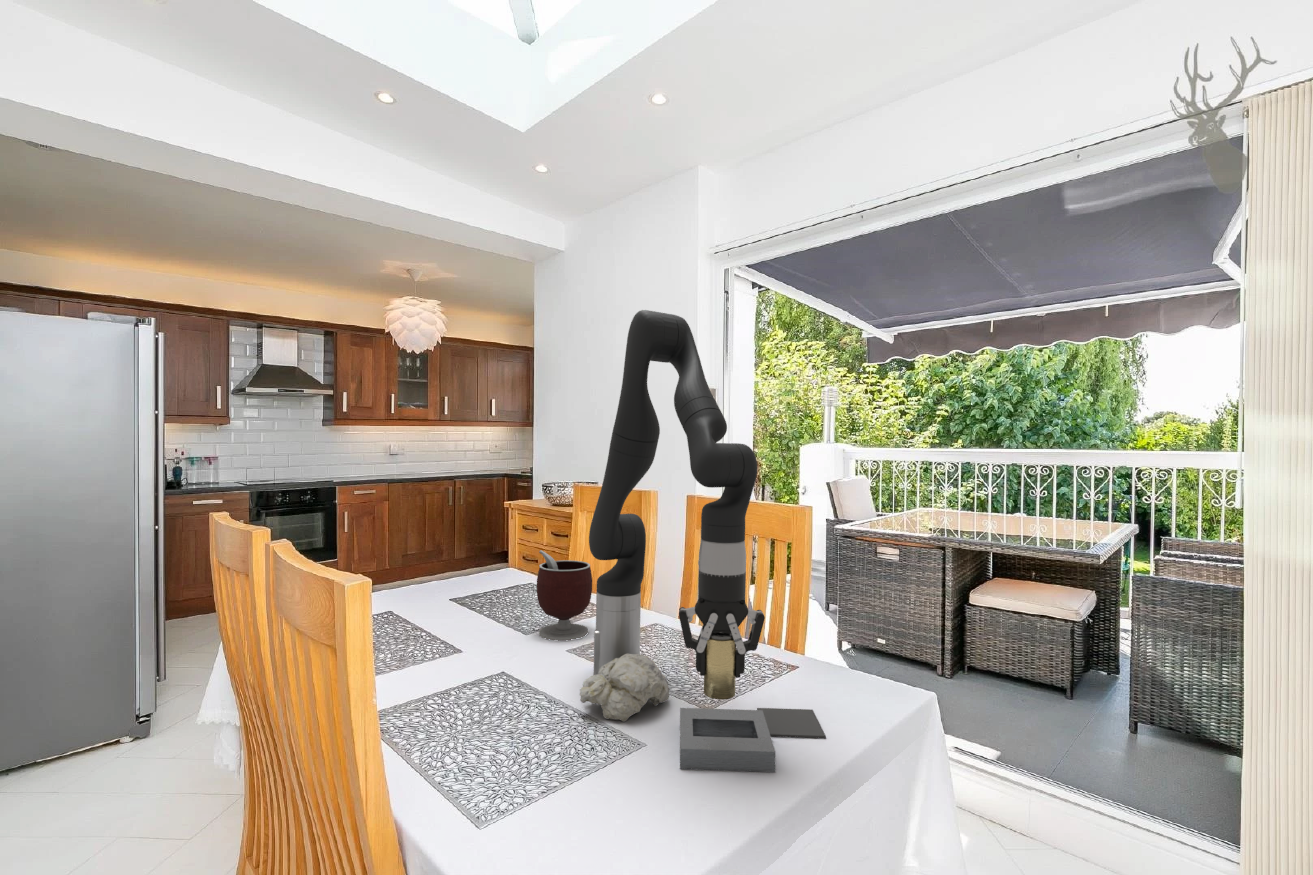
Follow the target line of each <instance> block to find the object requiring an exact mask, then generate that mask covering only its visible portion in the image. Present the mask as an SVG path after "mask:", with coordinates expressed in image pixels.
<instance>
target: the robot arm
mask: <svg viewBox="0 0 1313 875" xmlns="http://www.w3.org/2000/svg"><path fill="white" fill-rule="evenodd" d="M689 325H690V324H688V322H687V320H685V318H684V317H682V316H680V315H676V314H672V313H665V312H659V311H656V310H655V311H654V310H647V309H641V310H639V311H637V312H636V313H635V315H633V317H632V319H631V322H630V325H629V329H628V333H627V338H626V347H625V356H624V357H625V358H624V364H623V372H622V373H623V375H622V382H621V389H620V393H619V394H620V395H619V400H618V405H617V409H616V415H615V420H614V424H613V428H612V433H611V438H610V443H609V447H608V448H609V450H608V455H607V462H606V466H605V471H604V475H603V476H604V477H603V481H602V486H601V487H600V488H601V489H600V493H599V495H598V500H597V502H596V505H595V509H594V512H593V514H592V520H591V523H590V527H589V533H588V534H589V535H588V545H589V551H590V554H591V555H592V556H593V557H594V559H596V560H599V561H613V560H614V561H615V560H616V563H614V566H612V568H610V569H609V570H608V571H606V572H604V573H603V574H601V575H599V576H598V578H597V579H596V588H595V589H596V596H595V600H596V602H595V603H596V604H595V607H596V608H595V629H594V632H593V633H594V634H593V635H594V636H593V675H597V674H598V672H599V669H600V668H601V667H602V666H603V665H605V664H607V663H609V662H611V661H612V660H614V659H615V658H620V657H621V656H623V655H625V654H627V653H628V654H638V655H641V604H642V603H641V602H642V601H641V600H642V599H641V598H642V597H641V596H642V593H641V592H642V588H641V587H642V582H643V580H644V577H645V576H644V574H645V559H646V558H645V557H646V546H647V540H646V539H647V536H646V528H645V523H644V521H643V519H642V517H640V516H639V515H637V514H635V513H621V512H622V509H623V508H624V507H623V506H624V504H625V501H626V500H627V498H628V497H629V495H630V494H631V492H632V491H633V490H634V489H635V487H636V486H637V485H638V484H639V483H640V481H641V480H642V479H643V478H644V476H645V475H646V474H647V473H648V471H649V470H650V469H651V467H652V465H653V463H654V460H655V457H656V452H657V449H658V442H659V439H660V434H661V430H660V429H661V428H660V421H659V419H658V416H657V413H656V410H655V407H654V405H653V402H652V400H651V397H650V394H649V393H650V392H649V388H648V376H649V375H648V374H649V368H650V363H651V362H658V363H669V364H671V365H672V366H673V368H674V369H675V370H676V372H677V374H678V381H677V384H676V387H675V390H674V397H673V406H674V410H675V413H676V416H677V418H678V420H679V422H680V425H681V427H682V429H683V431H684V433H685V435H686V440H687V447H688V453H689V455H688V456H689V464H690V466H689V467H690V471H691V475H692V476H693V477H694V479H695V480H696V481H697V483H699V485H701V486H703V487H705V488H724V489H723V491H722V494H721V496H720V497H719V498H718V499H717V500H714V501H710V502H708V503H706V504H704V505H703V506H702V509H701V516H700V522H701V523H700V525H701V526H700V545H699V551H698V552H699V553H698V560H697V564H698V577H697V578H698V580H697V583H698V584H697V586H698V587H697V601H696V603H695V604H694V606H691V607H687V608H686V607H685V606H680V607H679V609H678V617H679V623H680V626H681V631H682V637H683V642H684V645H685V646H684V647H685V648H687V649H692V650H694V652H695V670H696V672H698V673H699V676H701V677H702V676H703V677H704V676H705V646H706V644H707V640H709V638H710V635H711V633H720V632H722V633H726V634H731V633H732V636H733V639H734V641H735V644H736V675H735V677H736V678H741V674H743V675H744V673H745V671H746V670H745V668H746V667H745V664H746V662H745V660H746V659H745V658H746V654H747V653H748V652H750V651H756V650H757V648H758V645H759V641H760V639H761V633H762V631H763V626H764V623H765V619H766V617H765V614H764V612H763V611H762V609H757V610H755V609H752V608H748V605H747V604H746V587H747V586H746V583H747V581H746V580H747V577H746V576H747V550H746V549H747V548H746V515H747V511H748V507H749V505H750V501H751V497H752V494H753V490H754V487H755V483H756V479H757V476H758V475H757V474H758V461H757V457H756V455H755V453H754V451H753V449H752V447H750V446H749V445H747V444H745V443H734V442H733V443H729V442H728V443H727V442H726V443H724V442H722V443H721V442H719V441H721V440H722V439H723V438H724V437H725V436H726V433H727V431H728V425H727V424H728V423H727V421H726V418H725V416H724V414H723V412H722V411H721V409H720V406H719V404H718V403H717V401H716V399H715V397H714V396H713V394H712V390H711V389H710V386H709V385H708V382H707V379H706V376H705V372H704V369H703V366H702V361H701V359H700V358H701V357H700V355H699V352H698V348H697V345H696V341H695V338H694V335H693V331H692V329H691V327H690V326H689ZM695 615H696V616H697V618H698V619H699V621H700V622H701V623H702V626H701V628H700V632H699V635H698V638H694V637H693V635H692V631H691V626H690V623H692V622H693V620H694V619H693V616H695ZM746 617H749V622H750V624H751V627H750V631H749V634H748V638H747V640H744V641H743V638H742V634H741V632H740V629H739V627H740V626H741V624H742V623H743V622H744V621H745V619H747V618H746Z"/></svg>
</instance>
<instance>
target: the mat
mask: <svg viewBox="0 0 1313 875" xmlns="http://www.w3.org/2000/svg"><path fill="white" fill-rule="evenodd" d="M756 710H763V713H764V717H765V720H766V723H767V726H768V730H769V733H770V736H771V738H795V739H797V738H799V739H801V738H803V739H804V738H805V739H827V736H826V733H825V731H824V729H823V727H822V726H821V724H820V722H819V719H818V718H817V716H816V713H815V711H814V710H813V709H806V708H805V709H804V708H779V707H778V708H776V707H775V708H772V707H771V708H770V707H768V708H767V707H756Z"/></svg>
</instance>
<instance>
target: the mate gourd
mask: <svg viewBox="0 0 1313 875" xmlns="http://www.w3.org/2000/svg"><path fill="white" fill-rule="evenodd" d="M539 554H541V556H543V558H544V560H545V562H543V563H540V564H539V569H538V571H537V572H538V573H537V578H536V595H537V602H538V605H539V607H540V609H541V610H542V611H543V613H544V614H545V615H548V616H550V617H553V618H555V619H558V621H557V623H554V624H549V625H546V626H544V627H541V628H540V629H539V632H538V634H540V635H539V637H540V638H542V639H544V638H546V639H545V640H548V639H550V640H549V641H554V640H558V641H557V642H563V641H564V642H566V640H568V641H572V640H571V639H576V638H580V639H582V638H581V637H583V636H585V635H586V634H587V633H588V634H589V628H588V627H587V626H585V625H583V624H579V623H578V624H577V623H572V622H571V620H570V619H572V618H575V617H576V616H579V615H581V614H583V613H584V612H585V610H586V609H587V608H588V606H589V605H590V603H591V599H592V594H593V575H592V574H593V573H592V569H591V564H590V563H589V562H586V561H582V560H571V559H570V560H568V559H566V560H563V559H562V560H555V559H554V558H553V557H552V556H551V555H550V554H548V553H546V552H545V551H543V550H539ZM588 634H587V635H588ZM587 635H586V636H587ZM586 636H585V637H586ZM583 638H584V637H583ZM576 640H577V639H576Z"/></svg>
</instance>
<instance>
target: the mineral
mask: <svg viewBox="0 0 1313 875" xmlns="http://www.w3.org/2000/svg"><path fill="white" fill-rule="evenodd" d="M670 689H671V688H670V687H669V682H668V679H667V677H666V676H665V674H663V673H662V671H661V670H660V668H659V666H658V665H657V664H656V663H655V661H654V660H653V659H651V658H650V657H649V656H648V655H645V654H640V655H638V654H628V653H627V654H625V655H623V656H621V657H620V658H615V659H614V660H612V661H611V662H609V663H607V664H605V665H603V666H602V667H601V668H600V669H599V672H598V674H597V675H594V674H593V675H591V676H590V677H588V678H586V679H585V680H584V681H583V683H582V687H580V689H579V696H580V700H579V701H580V702H581V704H585V703H586V702H587V703H588V702H589V703H591V704H593V705H594V704H595V705H600V708H601V709H602V714H603V718H605V719H607V720H614V721H615V720H616V721H617V720H618V721H619V720H620V721H621V722H622V723H623V722H627V721H628V720H629V718H630V717H631V716H633V715H635V714H637V713H640V711H641V709H642V708H643V707H644V705H646V703H647V702H648V701H649V702H651V703H652V704H653V706H658V705H659V703H660V704H661V703H664V702H666V701H668V700H669V698H670Z"/></svg>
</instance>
